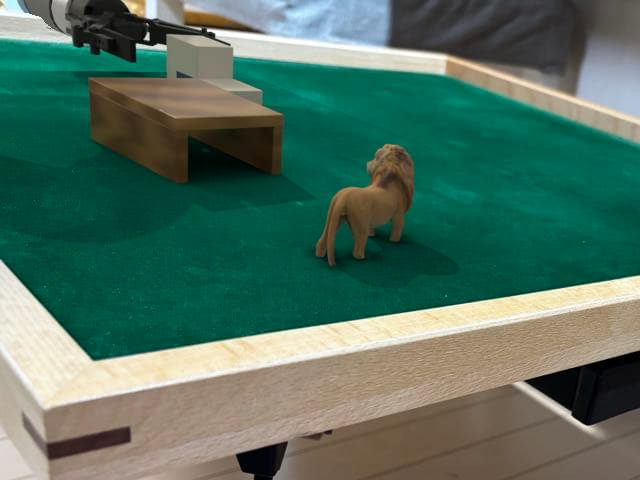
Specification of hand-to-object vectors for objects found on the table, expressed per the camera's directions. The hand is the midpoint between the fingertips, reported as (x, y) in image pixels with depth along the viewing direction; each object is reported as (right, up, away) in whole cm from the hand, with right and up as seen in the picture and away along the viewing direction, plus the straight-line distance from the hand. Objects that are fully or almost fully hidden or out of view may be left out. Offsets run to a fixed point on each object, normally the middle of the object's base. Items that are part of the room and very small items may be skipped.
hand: (183, 52), depth 114 cm
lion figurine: (+30, -32, -35) cm, 56 cm away
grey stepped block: (+4, -8, -1) cm, 9 cm away
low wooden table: (+10, -21, -23) cm, 33 cm away
